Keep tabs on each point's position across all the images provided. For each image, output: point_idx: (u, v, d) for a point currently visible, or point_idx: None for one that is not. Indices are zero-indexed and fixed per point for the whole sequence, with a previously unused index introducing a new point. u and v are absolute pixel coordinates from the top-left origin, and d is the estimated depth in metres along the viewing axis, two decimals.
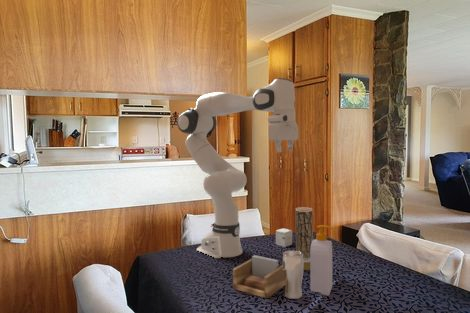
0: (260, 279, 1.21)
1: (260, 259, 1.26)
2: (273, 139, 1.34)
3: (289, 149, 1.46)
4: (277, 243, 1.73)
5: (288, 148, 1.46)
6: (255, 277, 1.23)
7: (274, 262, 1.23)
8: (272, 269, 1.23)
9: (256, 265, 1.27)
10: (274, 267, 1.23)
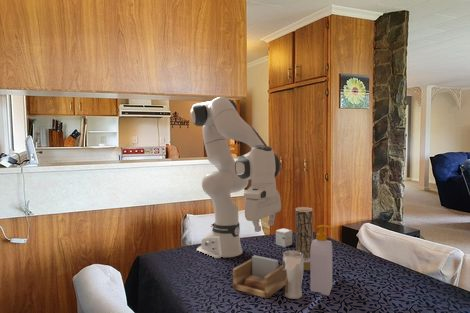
0: (260, 279, 1.21)
1: (260, 259, 1.26)
2: (250, 219, 1.17)
3: (270, 224, 1.28)
4: (277, 243, 1.73)
5: (269, 222, 1.28)
6: (255, 277, 1.23)
7: (274, 262, 1.23)
8: (272, 269, 1.23)
9: (256, 265, 1.27)
10: (274, 267, 1.23)
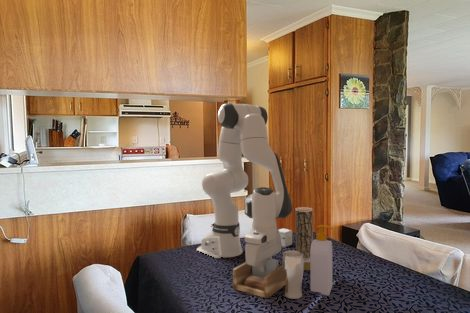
0: (260, 279, 1.21)
1: None
2: (250, 264, 1.18)
3: None
4: None
5: None
6: (255, 277, 1.23)
7: (274, 262, 1.23)
8: (272, 269, 1.23)
9: None
10: (274, 267, 1.23)
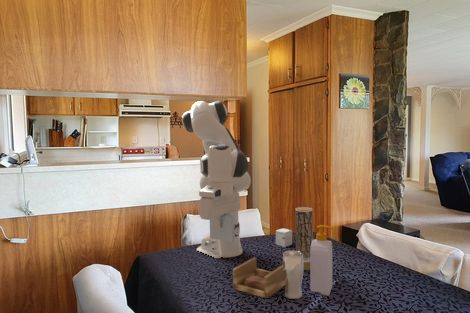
0: (260, 279, 1.21)
1: None
2: (204, 218, 1.17)
3: None
4: (277, 243, 1.73)
5: None
6: (255, 277, 1.23)
7: (230, 217, 1.22)
8: (228, 225, 1.23)
9: (213, 222, 1.27)
10: (230, 222, 1.22)
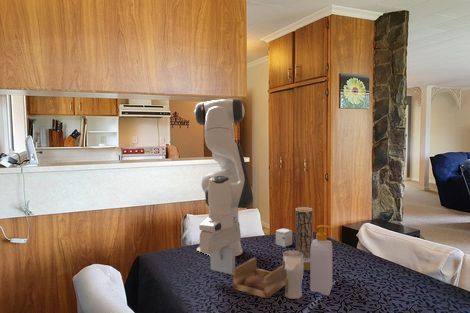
0: (260, 279, 1.21)
1: None
2: (204, 252, 1.18)
3: None
4: (277, 243, 1.73)
5: None
6: (255, 277, 1.23)
7: (230, 250, 1.23)
8: (228, 257, 1.23)
9: (214, 254, 1.27)
10: (230, 255, 1.23)
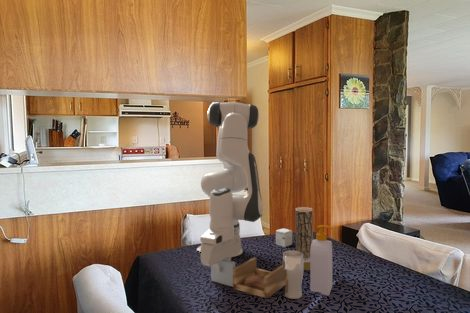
0: (260, 279, 1.21)
1: None
2: (205, 264, 1.18)
3: None
4: (277, 243, 1.73)
5: None
6: (255, 277, 1.23)
7: (231, 264, 1.23)
8: (229, 271, 1.24)
9: (214, 267, 1.27)
10: (231, 269, 1.23)
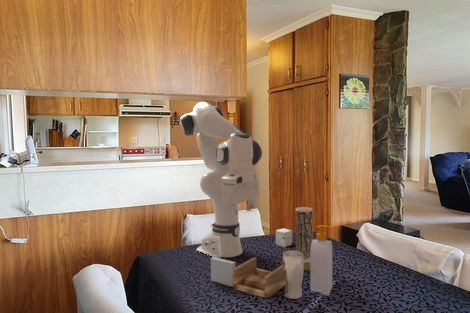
0: (260, 279, 1.21)
1: (218, 261, 1.26)
2: (225, 204, 1.21)
3: (248, 209, 1.33)
4: (277, 243, 1.73)
5: (247, 207, 1.33)
6: (255, 277, 1.23)
7: (231, 264, 1.23)
8: (229, 271, 1.24)
9: (214, 267, 1.27)
10: (231, 269, 1.23)
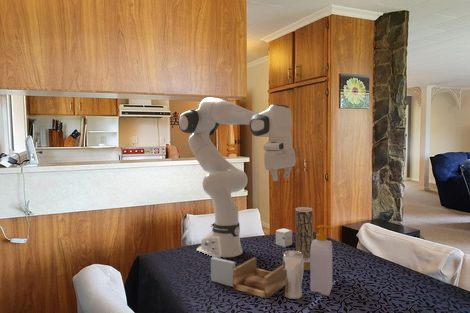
0: (260, 279, 1.21)
1: (218, 261, 1.26)
2: (269, 168, 1.29)
3: (286, 176, 1.41)
4: (277, 243, 1.73)
5: (285, 175, 1.41)
6: (255, 277, 1.23)
7: (231, 264, 1.23)
8: (229, 271, 1.24)
9: (214, 267, 1.27)
10: (231, 269, 1.23)
